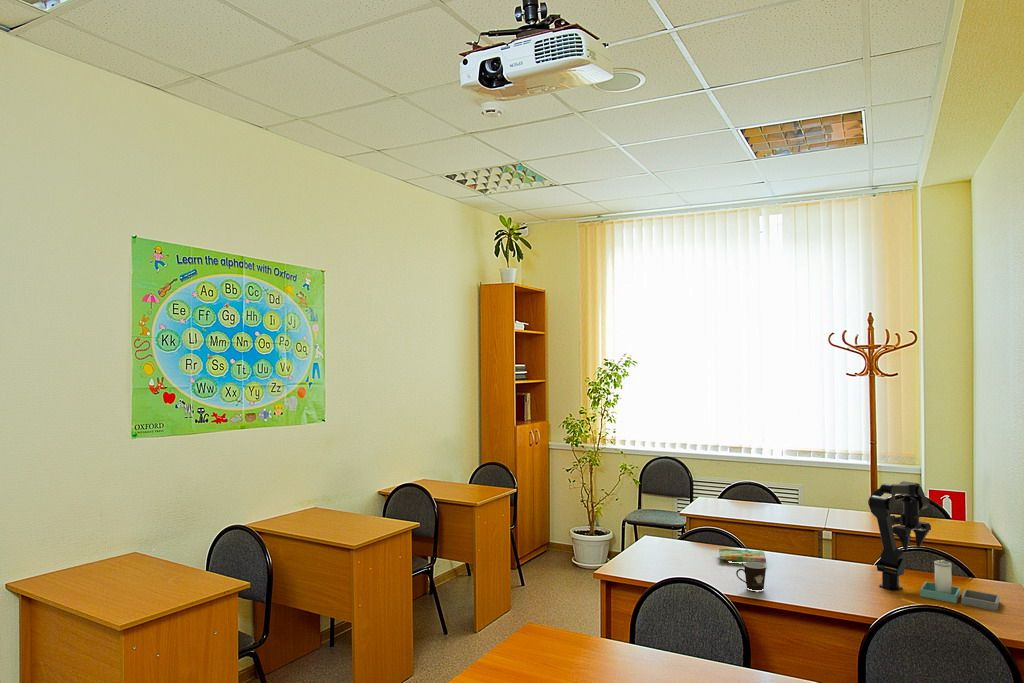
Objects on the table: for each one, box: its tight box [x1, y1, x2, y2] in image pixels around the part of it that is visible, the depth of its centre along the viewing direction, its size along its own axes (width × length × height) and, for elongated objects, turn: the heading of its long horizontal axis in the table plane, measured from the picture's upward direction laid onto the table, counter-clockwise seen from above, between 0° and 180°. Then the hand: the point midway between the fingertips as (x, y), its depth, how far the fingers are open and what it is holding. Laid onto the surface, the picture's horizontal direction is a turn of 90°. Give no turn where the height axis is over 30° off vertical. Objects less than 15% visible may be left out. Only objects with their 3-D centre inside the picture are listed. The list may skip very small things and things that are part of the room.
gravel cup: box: [933, 559, 953, 595], centre depth 268 cm, size 6×6×14 cm
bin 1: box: [919, 581, 962, 604], centre depth 268 cm, size 12×12×4 cm
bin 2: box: [960, 588, 1001, 612], centre depth 260 cm, size 11×11×4 cm
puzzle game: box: [718, 548, 767, 565], centre depth 316 cm, size 12×5×20 cm
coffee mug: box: [735, 562, 767, 590], centre depth 278 cm, size 12×9×10 cm
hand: (911, 548), depth 290 cm, fingers open, 9 cm apart
